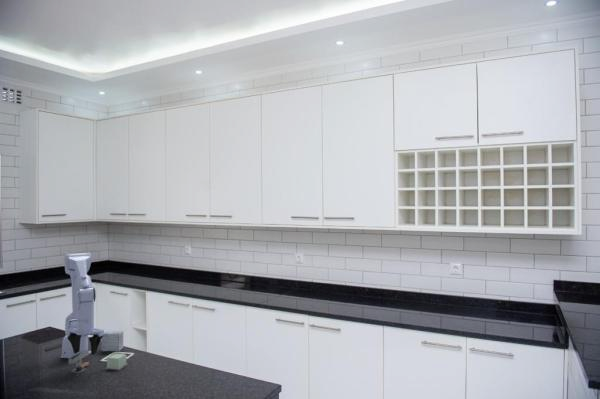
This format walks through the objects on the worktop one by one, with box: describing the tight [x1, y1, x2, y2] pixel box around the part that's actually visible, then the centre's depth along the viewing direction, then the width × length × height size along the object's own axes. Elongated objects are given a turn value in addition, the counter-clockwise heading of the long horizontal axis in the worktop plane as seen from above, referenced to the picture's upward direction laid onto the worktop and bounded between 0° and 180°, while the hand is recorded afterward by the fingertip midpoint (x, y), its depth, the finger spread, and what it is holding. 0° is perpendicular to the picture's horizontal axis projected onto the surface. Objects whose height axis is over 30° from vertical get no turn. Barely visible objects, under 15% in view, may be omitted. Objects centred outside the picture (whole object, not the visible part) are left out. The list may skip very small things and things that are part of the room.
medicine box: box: [101, 330, 124, 352], centre depth 171 cm, size 8×4×9 cm, turn 92°
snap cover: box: [106, 353, 127, 370], centre depth 154 cm, size 5×5×4 cm
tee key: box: [67, 349, 90, 371], centre depth 150 cm, size 9×2×6 cm, turn 171°
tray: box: [99, 351, 136, 363], centre depth 162 cm, size 10×10×2 cm
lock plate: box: [71, 363, 128, 374], centre depth 151 cm, size 22×12×1 cm, turn 81°
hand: (85, 353), depth 153 cm, fingers open, 7 cm apart
